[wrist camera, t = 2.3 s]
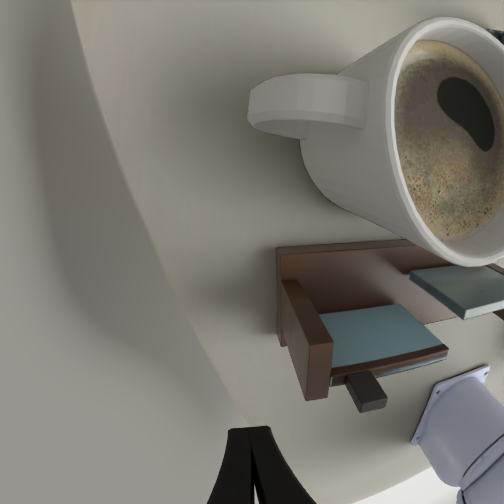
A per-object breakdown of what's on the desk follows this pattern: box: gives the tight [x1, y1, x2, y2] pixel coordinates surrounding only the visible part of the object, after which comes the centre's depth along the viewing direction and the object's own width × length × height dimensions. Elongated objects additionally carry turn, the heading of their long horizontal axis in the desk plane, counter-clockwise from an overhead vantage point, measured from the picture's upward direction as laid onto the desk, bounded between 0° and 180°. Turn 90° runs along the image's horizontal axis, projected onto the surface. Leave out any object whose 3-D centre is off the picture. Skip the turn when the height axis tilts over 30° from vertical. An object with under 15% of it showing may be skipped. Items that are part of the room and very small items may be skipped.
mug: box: [247, 17, 504, 267], centre depth 12 cm, size 11×10×10 cm
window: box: [276, 239, 504, 401], centre depth 16 cm, size 6×16×8 cm, turn 92°
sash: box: [318, 304, 449, 413], centre depth 14 cm, size 1×7×8 cm, turn 92°
